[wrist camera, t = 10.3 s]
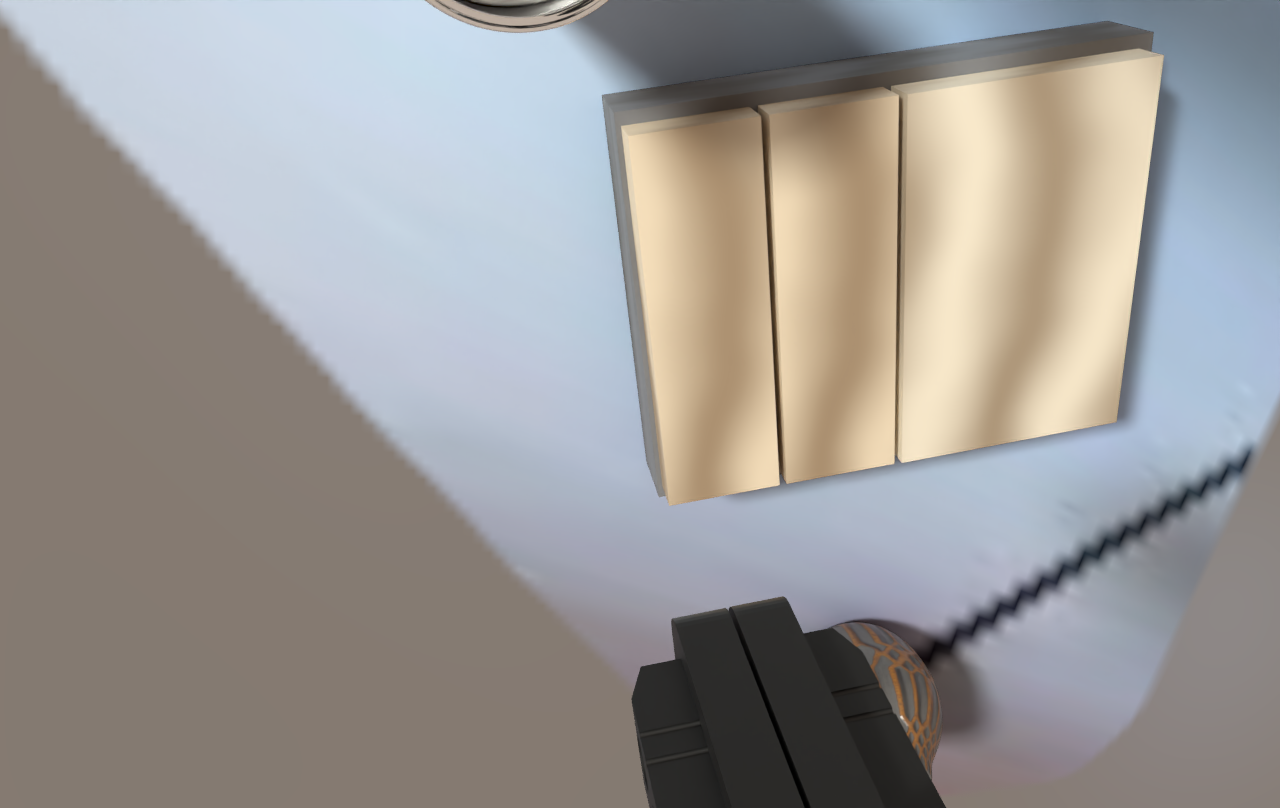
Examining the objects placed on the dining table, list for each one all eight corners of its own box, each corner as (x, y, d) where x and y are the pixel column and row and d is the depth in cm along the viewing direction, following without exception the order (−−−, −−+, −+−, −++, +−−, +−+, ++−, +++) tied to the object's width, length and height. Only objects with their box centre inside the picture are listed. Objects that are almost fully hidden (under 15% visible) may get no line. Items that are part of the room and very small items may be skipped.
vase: (747, 667, 53) (799, 804, 45) (845, 577, 51) (916, 704, 44) (834, 723, 56) (897, 861, 48) (929, 640, 54) (1010, 769, 47)
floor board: (646, 460, 46) (665, 516, 42) (601, 94, 39) (620, 121, 35) (1070, 383, 48) (1126, 430, 44) (1107, 20, 41) (1178, 38, 37)
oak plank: (887, 445, 44) (901, 462, 43) (890, 85, 37) (907, 94, 36) (1096, 405, 45) (1116, 422, 44) (1138, 48, 38) (1163, 55, 37)
